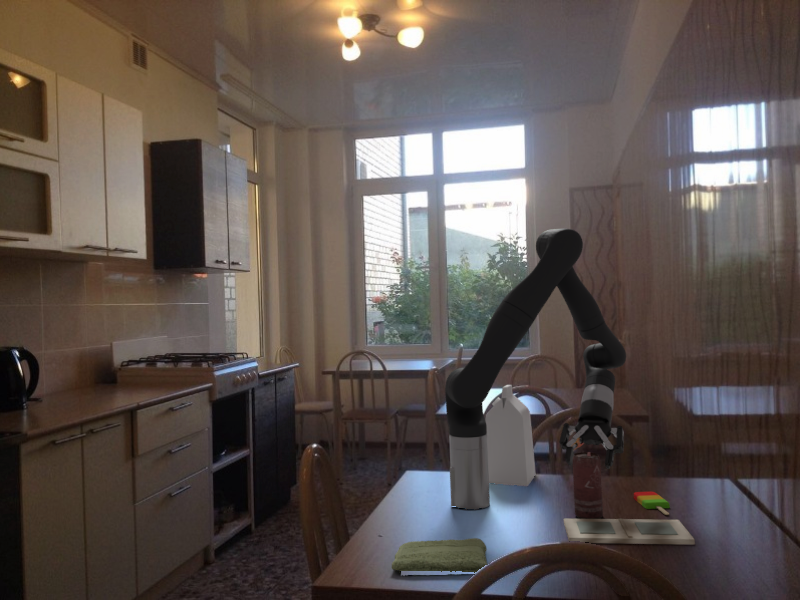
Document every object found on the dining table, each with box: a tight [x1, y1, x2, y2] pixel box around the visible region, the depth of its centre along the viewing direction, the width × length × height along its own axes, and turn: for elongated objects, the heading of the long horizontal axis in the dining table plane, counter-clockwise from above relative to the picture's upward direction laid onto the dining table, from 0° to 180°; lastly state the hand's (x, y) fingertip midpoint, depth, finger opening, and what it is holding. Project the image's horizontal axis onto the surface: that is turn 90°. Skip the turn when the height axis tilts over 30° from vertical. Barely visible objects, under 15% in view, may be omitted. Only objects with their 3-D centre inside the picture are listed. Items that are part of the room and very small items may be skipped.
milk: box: [484, 384, 537, 487], centre depth 182 cm, size 12×12×26 cm
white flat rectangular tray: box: [563, 518, 696, 545], centre depth 135 cm, size 24×12×1 cm, turn 81°
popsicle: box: [633, 491, 670, 516], centre depth 153 cm, size 6×15×2 cm, turn 179°
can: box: [572, 451, 604, 519], centre depth 147 cm, size 6×6×14 cm
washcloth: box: [391, 537, 488, 573], centre depth 124 cm, size 13×18×3 cm
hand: (588, 465), depth 149 cm, fingers open, 8 cm apart
